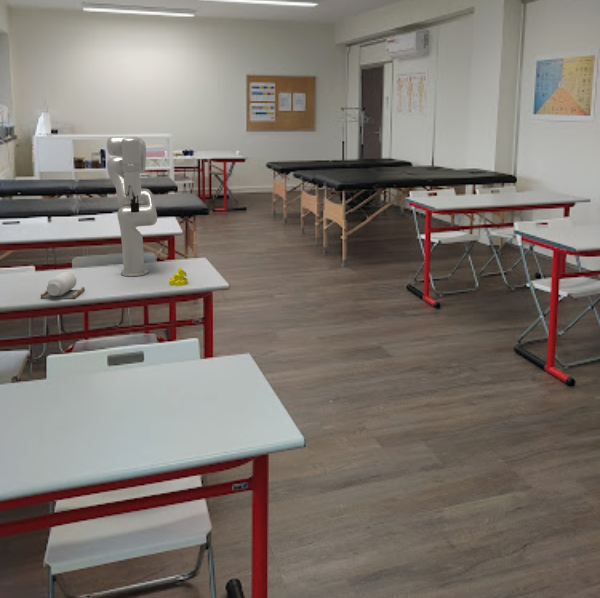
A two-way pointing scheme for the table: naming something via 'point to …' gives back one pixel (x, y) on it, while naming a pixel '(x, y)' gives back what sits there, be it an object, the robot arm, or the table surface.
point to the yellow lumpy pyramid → (179, 278)
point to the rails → (72, 295)
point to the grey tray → (65, 296)
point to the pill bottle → (61, 283)
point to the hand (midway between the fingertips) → (135, 211)
